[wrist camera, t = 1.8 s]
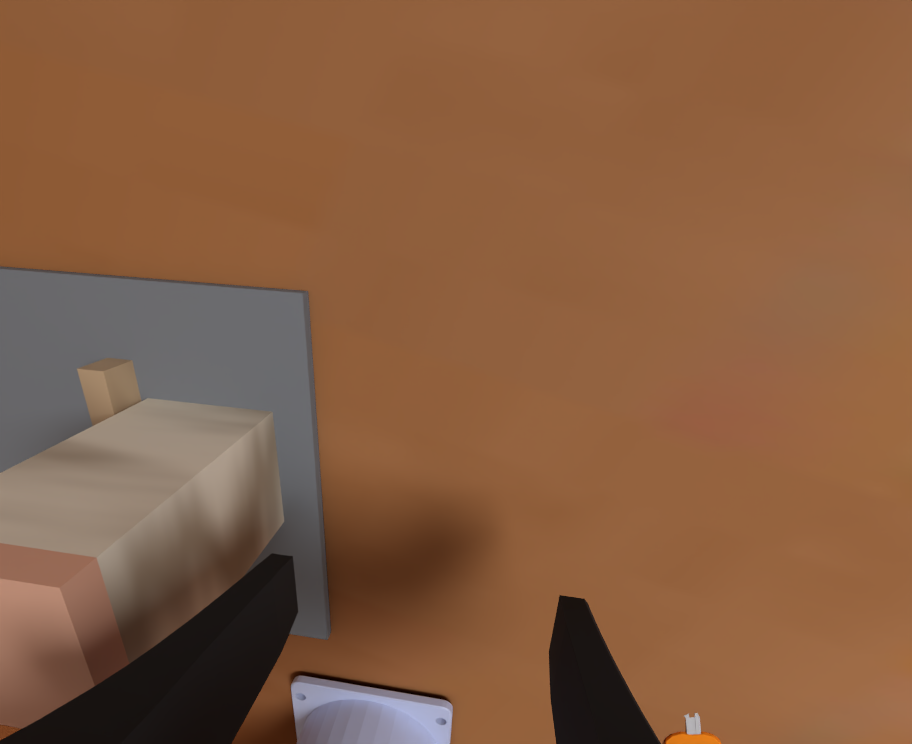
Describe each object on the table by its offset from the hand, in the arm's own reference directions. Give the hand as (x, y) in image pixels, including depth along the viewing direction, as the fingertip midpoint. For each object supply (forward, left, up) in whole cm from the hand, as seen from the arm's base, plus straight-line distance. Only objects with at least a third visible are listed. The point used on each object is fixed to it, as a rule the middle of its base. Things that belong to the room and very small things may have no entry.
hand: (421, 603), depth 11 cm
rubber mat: (-1, +13, -5) cm, 14 cm away
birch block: (0, +9, -5) cm, 10 cm away
